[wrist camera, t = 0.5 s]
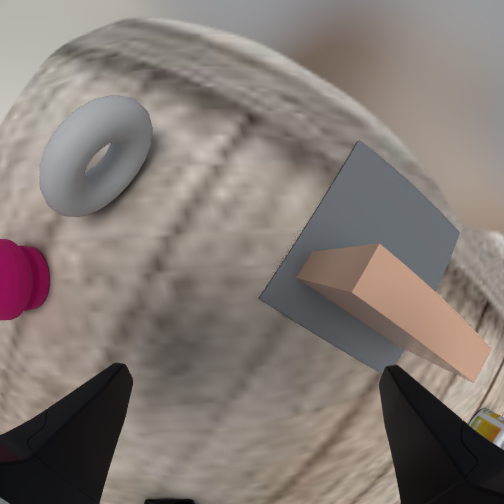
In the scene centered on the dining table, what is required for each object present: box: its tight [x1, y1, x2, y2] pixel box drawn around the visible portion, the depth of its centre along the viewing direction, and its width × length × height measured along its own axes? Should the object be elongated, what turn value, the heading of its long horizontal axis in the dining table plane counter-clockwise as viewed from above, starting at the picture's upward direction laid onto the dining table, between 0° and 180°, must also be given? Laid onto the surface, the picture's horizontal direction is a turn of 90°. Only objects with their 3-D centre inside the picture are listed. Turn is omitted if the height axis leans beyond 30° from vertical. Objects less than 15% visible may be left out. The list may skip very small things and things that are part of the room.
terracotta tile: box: [296, 243, 491, 383], centre depth 17 cm, size 3×12×11 cm, turn 56°
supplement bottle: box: [469, 409, 504, 450], centre depth 19 cm, size 5×5×10 cm
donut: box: [40, 95, 153, 217], centre depth 17 cm, size 10×3×10 cm, turn 140°
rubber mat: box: [259, 140, 460, 374], centre depth 23 cm, size 17×15×1 cm
